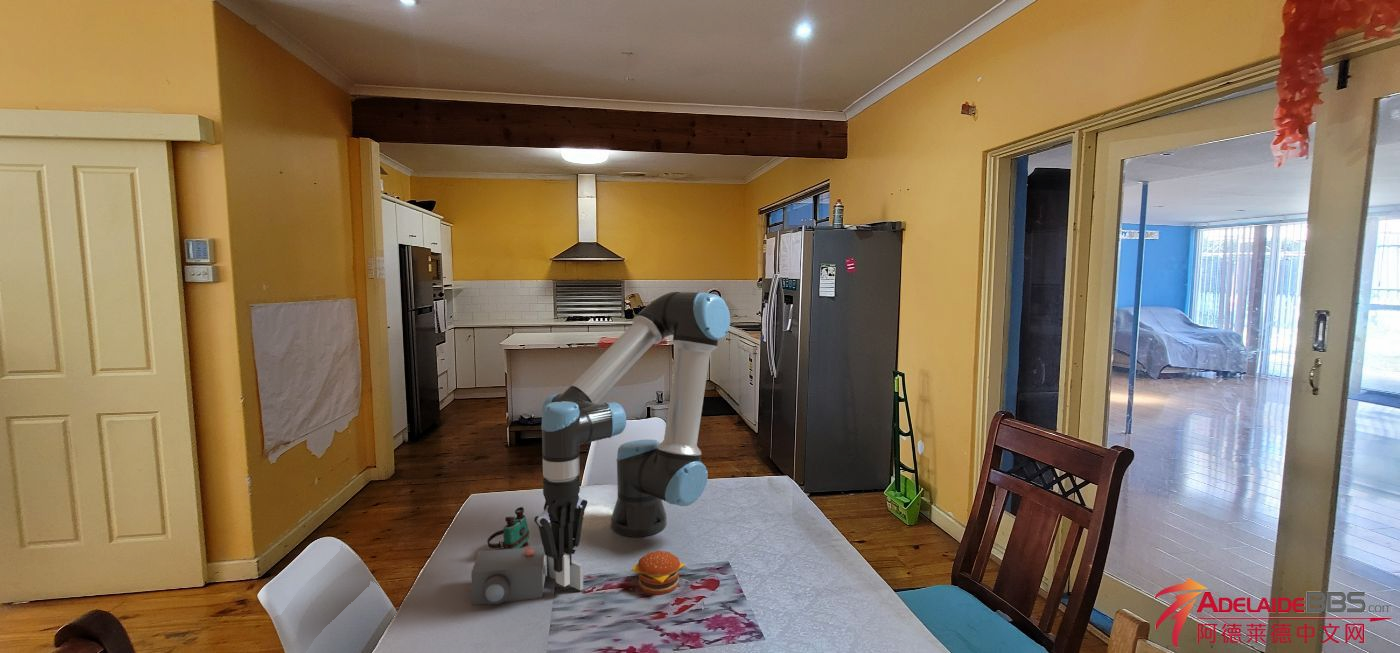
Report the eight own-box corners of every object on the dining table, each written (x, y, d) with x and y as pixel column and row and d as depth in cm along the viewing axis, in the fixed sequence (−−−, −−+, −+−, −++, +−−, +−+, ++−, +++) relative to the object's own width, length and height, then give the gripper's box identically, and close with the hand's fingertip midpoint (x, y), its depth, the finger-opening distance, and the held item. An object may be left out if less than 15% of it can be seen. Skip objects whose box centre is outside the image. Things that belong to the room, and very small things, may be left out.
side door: (549, 573, 128) (549, 548, 127) (583, 588, 122) (583, 562, 121) (545, 575, 127) (545, 550, 126) (580, 591, 121) (579, 564, 120)
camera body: (546, 575, 128) (546, 542, 127) (542, 605, 116) (541, 569, 115) (480, 581, 125) (479, 547, 124) (469, 612, 113) (468, 575, 113)
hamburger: (629, 587, 123) (628, 558, 123) (655, 568, 131) (655, 541, 131) (663, 601, 118) (663, 570, 118) (688, 580, 126) (688, 552, 126)
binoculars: (496, 505, 142) (532, 505, 140) (501, 545, 143) (537, 545, 141) (475, 520, 134) (513, 520, 132) (481, 562, 134) (518, 563, 132)
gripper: (572, 464, 125) (573, 565, 127) (524, 481, 115) (526, 591, 117) (596, 471, 121) (597, 575, 123) (549, 489, 110) (551, 603, 112)
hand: (562, 583), depth 120 cm, fingers closed
